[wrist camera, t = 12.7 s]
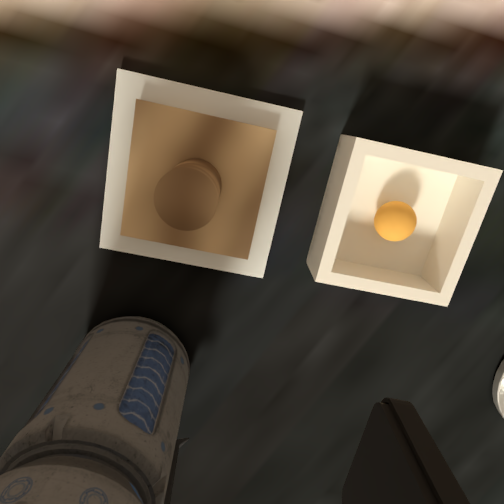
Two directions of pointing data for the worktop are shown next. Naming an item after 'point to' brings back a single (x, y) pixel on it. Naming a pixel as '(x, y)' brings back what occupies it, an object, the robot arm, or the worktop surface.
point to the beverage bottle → (105, 422)
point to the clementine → (395, 221)
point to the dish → (426, 231)
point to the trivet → (210, 104)
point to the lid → (195, 179)
